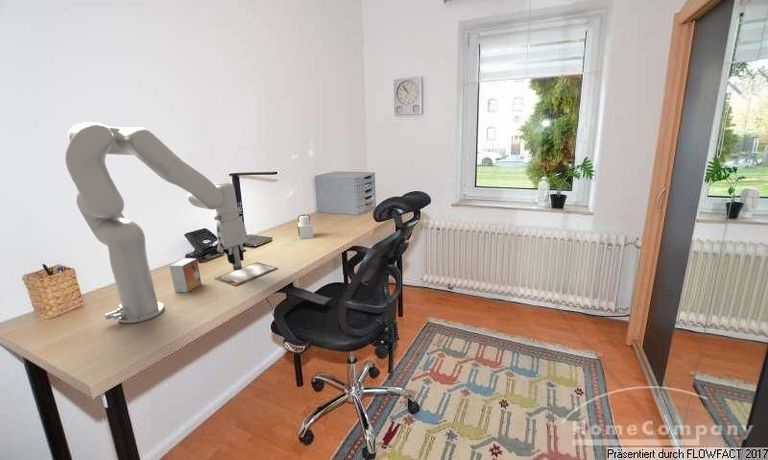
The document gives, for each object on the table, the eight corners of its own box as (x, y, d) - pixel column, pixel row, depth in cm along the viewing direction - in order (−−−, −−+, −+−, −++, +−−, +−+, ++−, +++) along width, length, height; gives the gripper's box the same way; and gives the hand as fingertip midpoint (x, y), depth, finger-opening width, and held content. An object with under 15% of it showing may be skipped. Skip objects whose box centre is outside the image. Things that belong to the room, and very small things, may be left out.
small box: (187, 292, 134) (182, 266, 131) (174, 292, 135) (168, 265, 132) (202, 283, 141) (197, 258, 138) (189, 283, 142) (184, 257, 139)
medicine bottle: (298, 235, 199) (296, 214, 196) (311, 234, 201) (309, 213, 198) (299, 239, 193) (297, 217, 190) (313, 237, 195) (311, 216, 192)
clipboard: (235, 286, 137) (235, 283, 137) (214, 278, 145) (214, 276, 145) (277, 268, 153) (277, 266, 153) (257, 262, 161) (256, 260, 161)
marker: (236, 271, 142) (230, 239, 138) (231, 269, 144) (225, 238, 140) (243, 268, 144) (238, 236, 141) (238, 266, 146) (233, 235, 142)
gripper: (213, 223, 129) (222, 270, 135) (252, 212, 142) (259, 256, 148) (202, 220, 134) (211, 267, 139) (241, 210, 146) (248, 253, 152)
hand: (236, 261), depth 143 cm, fingers closed on marker, 3 cm apart
